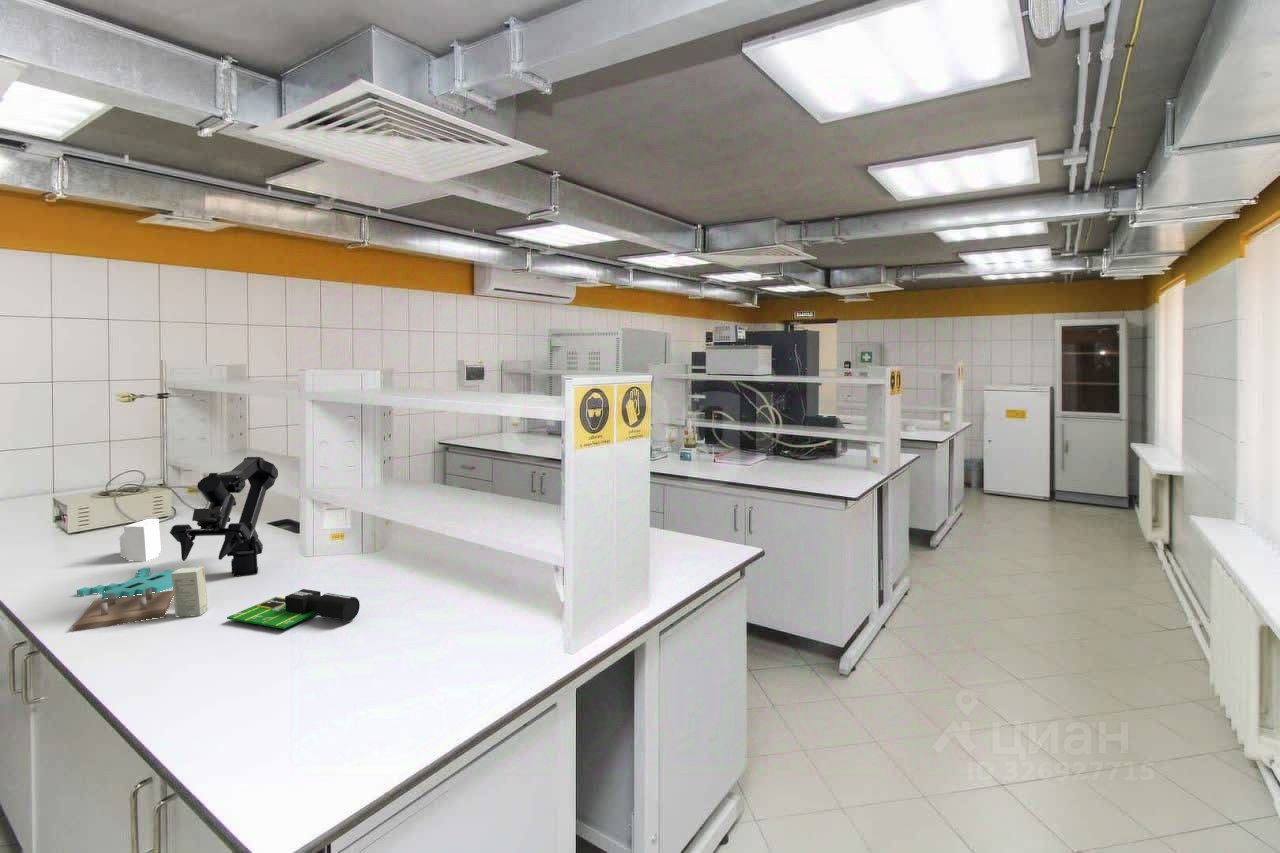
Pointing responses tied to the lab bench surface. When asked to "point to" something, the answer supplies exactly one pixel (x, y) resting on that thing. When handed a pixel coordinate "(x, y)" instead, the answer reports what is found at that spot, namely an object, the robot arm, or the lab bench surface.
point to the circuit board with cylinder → (299, 609)
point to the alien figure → (134, 584)
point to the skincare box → (189, 591)
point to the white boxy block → (141, 540)
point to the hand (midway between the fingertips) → (201, 559)
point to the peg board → (124, 609)
